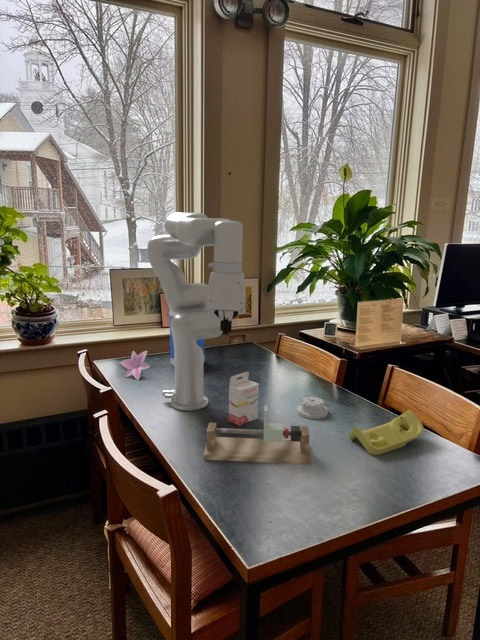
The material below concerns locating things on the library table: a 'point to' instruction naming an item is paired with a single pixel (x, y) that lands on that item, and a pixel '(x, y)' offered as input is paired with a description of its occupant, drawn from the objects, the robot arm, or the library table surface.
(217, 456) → the lead screw slide
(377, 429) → the plastic component
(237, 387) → the ink cartridge box
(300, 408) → the mechanical component
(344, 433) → the library table surface
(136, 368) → the lily
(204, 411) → the library table surface
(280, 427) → the pale green slide carriage
